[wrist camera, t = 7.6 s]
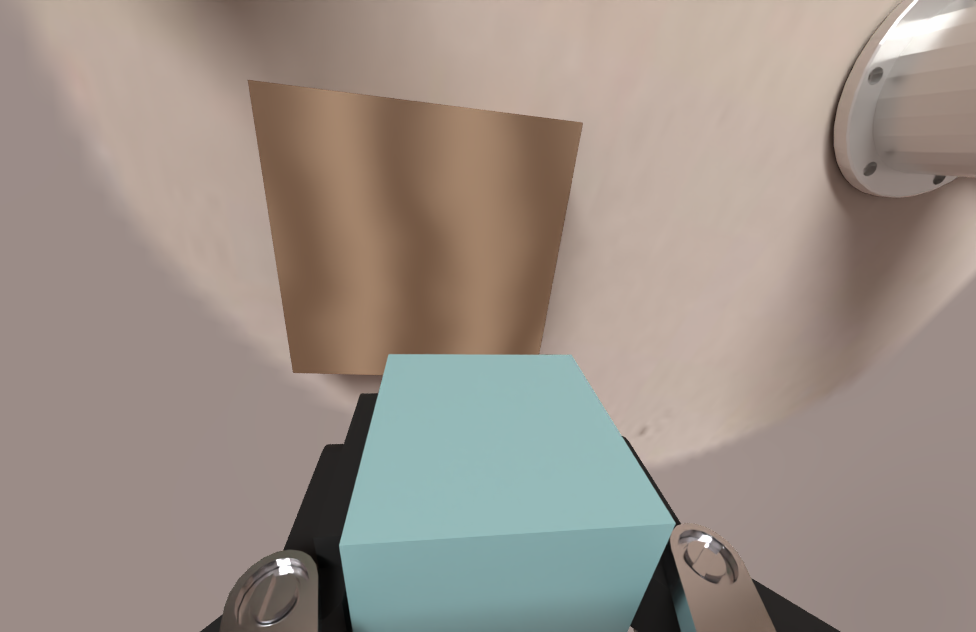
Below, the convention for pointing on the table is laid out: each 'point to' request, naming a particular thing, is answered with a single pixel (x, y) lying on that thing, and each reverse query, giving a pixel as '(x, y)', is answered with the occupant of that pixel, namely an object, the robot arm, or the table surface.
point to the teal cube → (497, 503)
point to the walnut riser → (409, 224)
